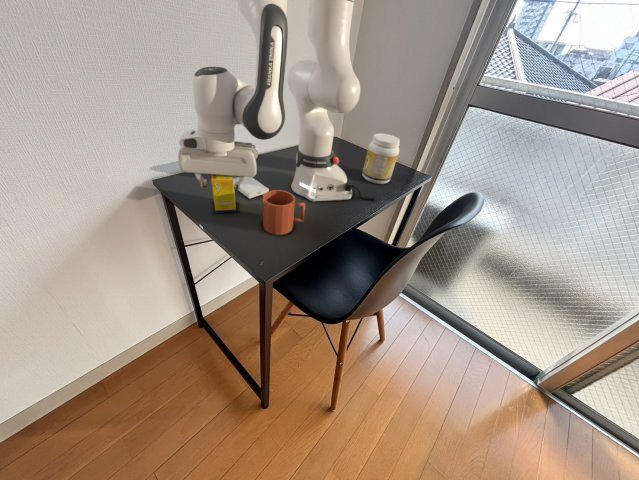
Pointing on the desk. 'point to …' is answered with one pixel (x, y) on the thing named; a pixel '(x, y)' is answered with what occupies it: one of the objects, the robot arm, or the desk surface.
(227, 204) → the supplement box
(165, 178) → the desk surface
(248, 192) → the hard drive
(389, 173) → the supplement tub
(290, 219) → the mug
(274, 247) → the desk surface
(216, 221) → the desk surface
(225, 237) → the desk surface
